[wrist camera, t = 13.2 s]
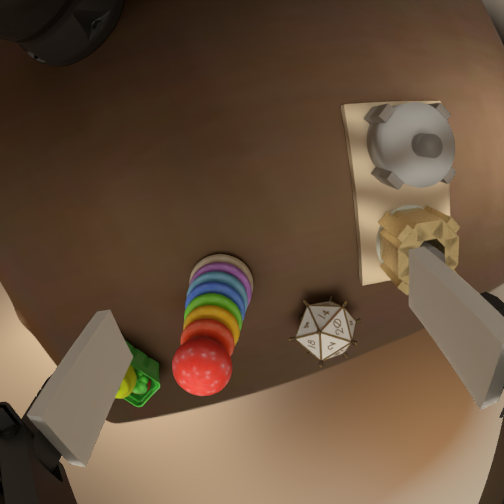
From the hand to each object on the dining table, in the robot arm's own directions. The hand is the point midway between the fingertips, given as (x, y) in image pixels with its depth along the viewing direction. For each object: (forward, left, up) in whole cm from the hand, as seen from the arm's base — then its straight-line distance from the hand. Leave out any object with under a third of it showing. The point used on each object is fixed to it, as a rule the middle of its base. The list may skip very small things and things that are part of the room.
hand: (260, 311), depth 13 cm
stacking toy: (+10, -6, -26) cm, 28 cm away
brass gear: (+8, +18, -24) cm, 31 cm away
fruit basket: (+20, -23, -26) cm, 40 cm away
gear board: (+2, +18, -26) cm, 31 cm away
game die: (+17, +6, -26) cm, 31 cm away
